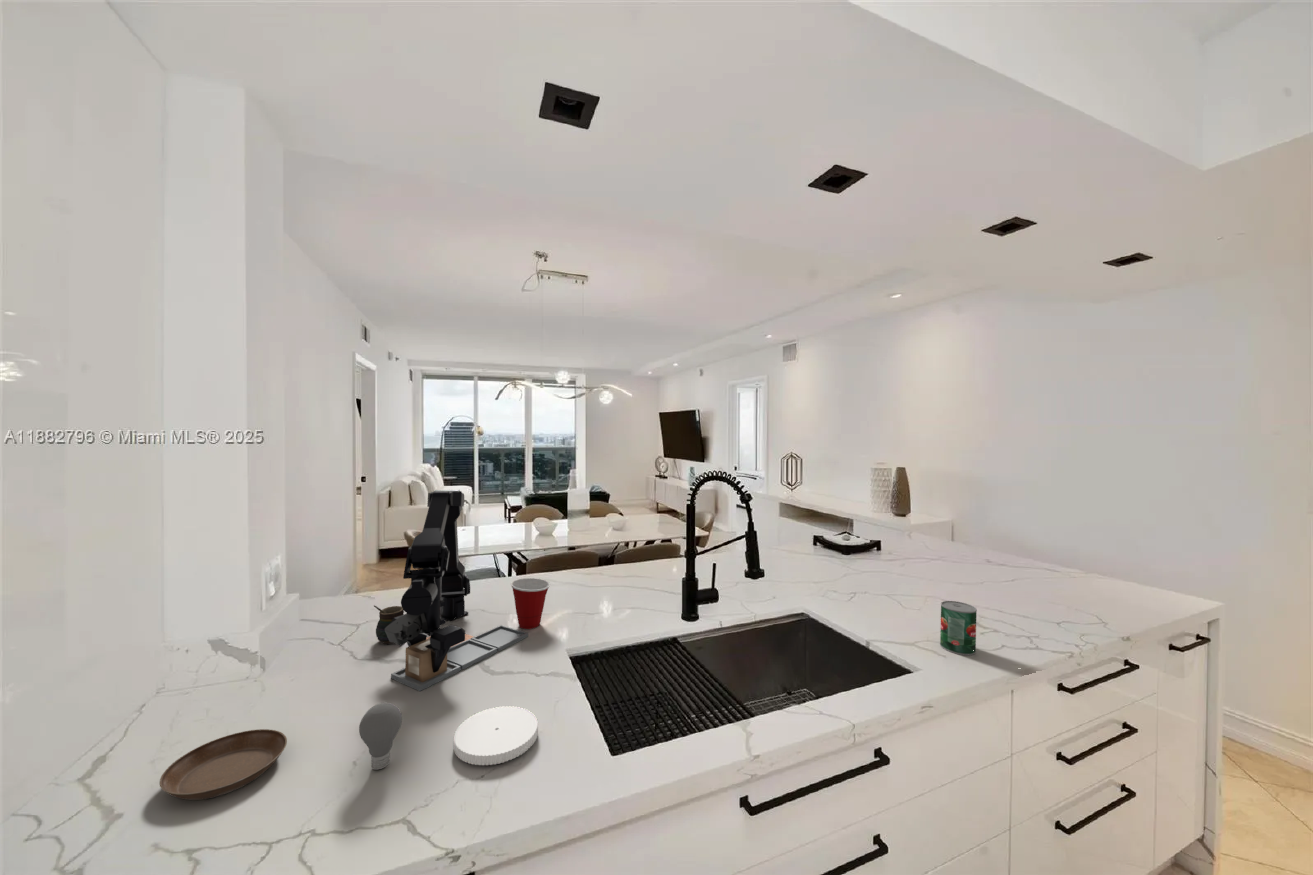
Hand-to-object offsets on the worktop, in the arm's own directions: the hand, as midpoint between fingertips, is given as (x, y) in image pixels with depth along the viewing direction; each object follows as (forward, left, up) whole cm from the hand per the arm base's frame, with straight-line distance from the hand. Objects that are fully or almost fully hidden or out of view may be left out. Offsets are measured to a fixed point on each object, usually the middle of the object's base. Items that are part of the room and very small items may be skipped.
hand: (426, 668), depth 106 cm
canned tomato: (+104, +79, -2) cm, 131 cm away
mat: (-11, +13, -1) cm, 17 cm away
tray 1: (0, 0, -1) cm, 1 cm away
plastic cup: (0, +32, -2) cm, 32 cm away
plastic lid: (+31, -8, -2) cm, 32 cm away
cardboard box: (0, 0, -1) cm, 1 cm away
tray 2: (0, +10, -1) cm, 11 cm away
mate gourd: (-23, +6, -2) cm, 24 cm away
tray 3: (0, +21, -1) cm, 21 cm away
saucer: (+1, -35, -2) cm, 35 cm away
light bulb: (+20, -22, -2) cm, 30 cm away
